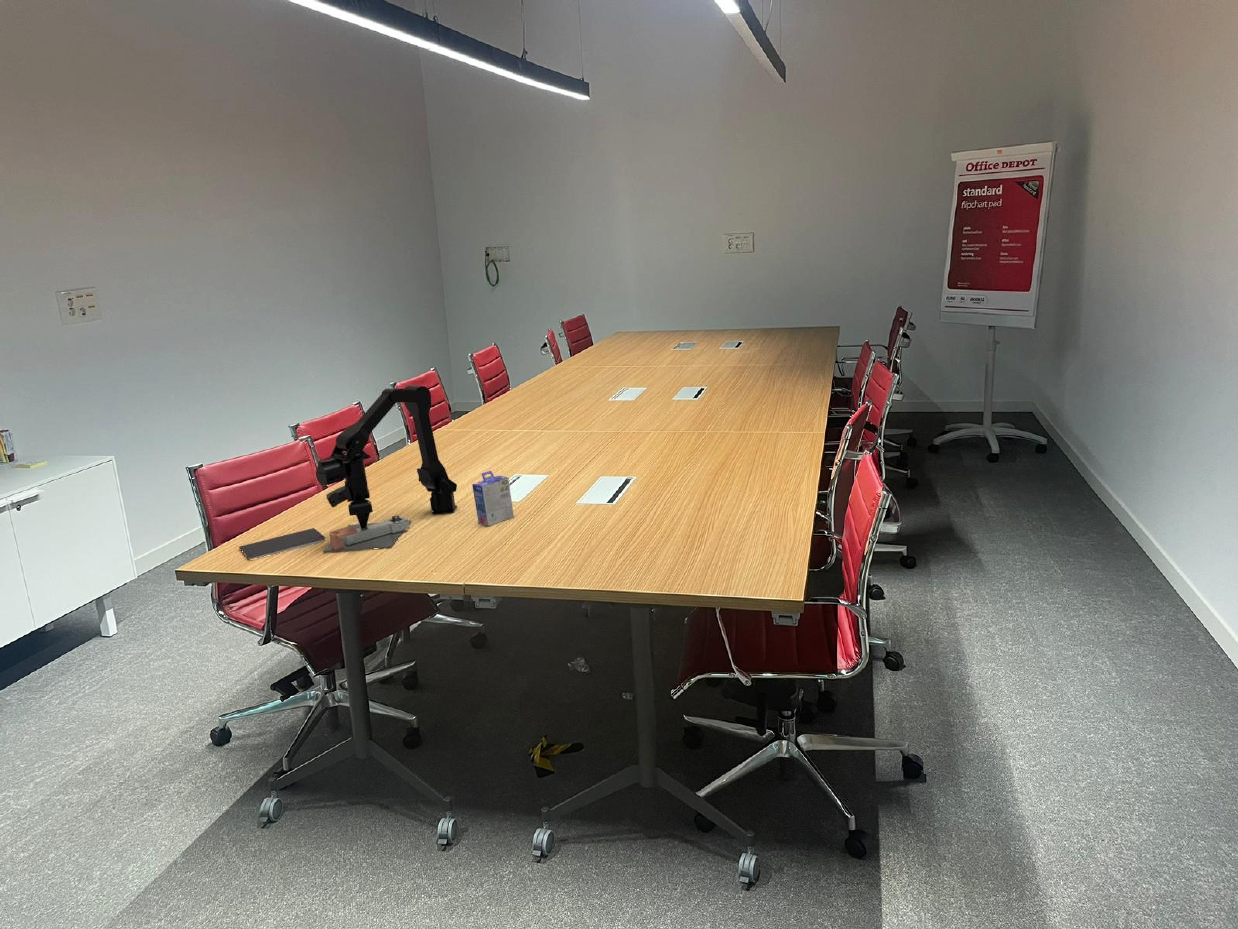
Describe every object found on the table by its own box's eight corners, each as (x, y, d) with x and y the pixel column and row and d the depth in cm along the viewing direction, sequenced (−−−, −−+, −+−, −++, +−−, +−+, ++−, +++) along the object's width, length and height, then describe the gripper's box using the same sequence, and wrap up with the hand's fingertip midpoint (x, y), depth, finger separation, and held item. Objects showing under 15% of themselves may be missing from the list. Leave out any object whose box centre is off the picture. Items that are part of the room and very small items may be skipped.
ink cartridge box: (503, 514, 269) (497, 467, 265) (515, 517, 265) (509, 469, 261) (476, 523, 262) (470, 475, 258) (488, 526, 258) (481, 478, 254)
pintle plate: (411, 522, 269) (409, 507, 267) (391, 548, 247) (388, 532, 246) (349, 526, 270) (346, 512, 268) (323, 553, 248) (320, 537, 247)
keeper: (351, 542, 255) (348, 526, 254) (359, 546, 251) (357, 530, 250) (329, 548, 251) (326, 532, 250) (338, 553, 247) (335, 536, 246)
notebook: (314, 532, 269) (240, 551, 258) (313, 527, 268) (239, 546, 257) (327, 543, 258) (249, 563, 247) (326, 537, 258) (248, 557, 247)
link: (401, 524, 264) (400, 515, 263) (409, 528, 260) (408, 519, 259) (342, 541, 254) (340, 532, 253) (349, 546, 250) (347, 536, 249)
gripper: (325, 473, 259) (333, 524, 264) (325, 489, 242) (334, 544, 246) (365, 467, 263) (373, 518, 267) (368, 483, 245) (376, 537, 249)
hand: (363, 529), depth 257 cm, fingers closed
